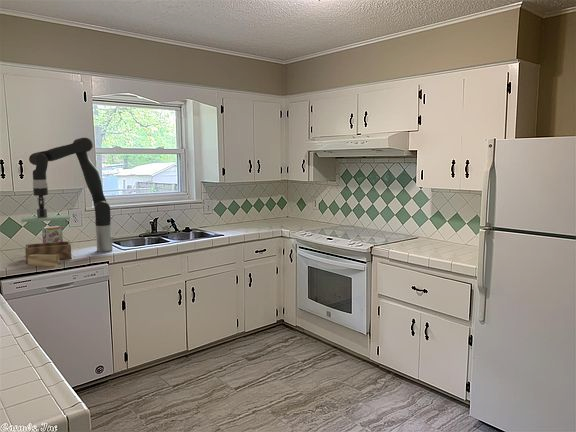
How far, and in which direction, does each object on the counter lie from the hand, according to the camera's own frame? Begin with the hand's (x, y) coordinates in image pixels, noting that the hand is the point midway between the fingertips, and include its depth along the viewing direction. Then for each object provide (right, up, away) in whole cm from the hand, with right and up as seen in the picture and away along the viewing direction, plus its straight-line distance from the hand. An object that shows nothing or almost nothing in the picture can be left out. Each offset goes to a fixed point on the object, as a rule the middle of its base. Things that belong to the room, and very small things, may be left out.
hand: (42, 216), depth 267 cm
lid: (+2, -2, +1) cm, 3 cm away
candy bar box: (-10, -24, +32) cm, 41 cm away
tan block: (+5, -29, -7) cm, 30 cm away
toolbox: (0, -26, +8) cm, 28 cm away
